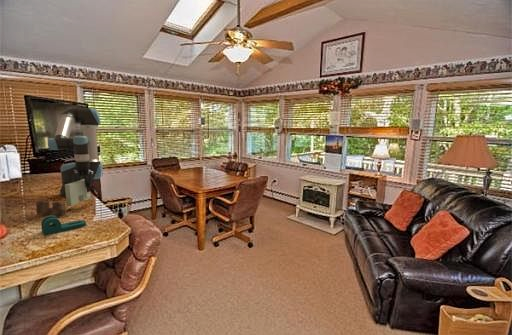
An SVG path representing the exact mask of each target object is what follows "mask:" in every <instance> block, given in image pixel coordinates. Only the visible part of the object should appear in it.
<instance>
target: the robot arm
mask: <svg viewBox="0 0 512 335" xmlns="http://www.w3.org/2000/svg"><path fill="white" fill-rule="evenodd" d="M58 122H59V123H58V125H57V127H56V132H55V134H54V137H50V138H47V139H48V140H47V147H48V149H49V150H52V151H53V150H54V151H65V150H66V151H68V150H71V151H72V150H73V152H74V153H73V155H74V160H75V161H74V162H69V163H65V164H62V165H61V166H60V175H61V187H60V190H59V195H60V196H61V197H66V192H65V184H69V183H72V182H76V181H79V180H83V179H84V180H85V184H86V187H85V195H86V197H89V196H90V193H91V187H92V186H94V180H98V179H101V178H102V176H103V168H104V165H103V164H104V163H101V160H100V159H99V155H98V135H97V129H98V128H99V125H100V124H101V117H100V113H99V110H98V109H97V108H91V107H70V108H68V109H65V110H64V111H62V112H61V113H60V115H59V116H58ZM74 124H80V127H81V128H82V133H83V135H75V136H73V137H70V135H71V132H72V129H73V125H74Z"/></svg>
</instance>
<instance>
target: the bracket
mask: <svg viewBox="0 0 512 335" xmlns="http://www.w3.org/2000/svg"><path fill="white" fill-rule="evenodd" d="M85 227H87V221H86V220H84V219H79V220H73V221H70V222H69V221H68V222H64V223H62V222H61V221H60V219H59V218H58V216H53V215H49V216H45V217H43V218H42V220H41V232H42V234H43V236H44V237H47V236H50V235H55V234H56V235H57V234H59V233H65V232H69V231H72V230H77V229H82V228H85Z"/></svg>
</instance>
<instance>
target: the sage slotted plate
mask: <svg viewBox="0 0 512 335" xmlns="http://www.w3.org/2000/svg"><path fill="white" fill-rule="evenodd" d="M85 187H86V184H85V180H84V179H83V180H79V181H76V182H72V183H69V184H65V192H66V196H65V201H66V202H65V204H66V206H68V207H73V206H75V205H78V204H79V203H80V202H85V201H87V200H90V199H92V196H91V195H92V194H91V192H90V196H89V197H86V195H85Z"/></svg>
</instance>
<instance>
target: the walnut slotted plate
mask: <svg viewBox="0 0 512 335" xmlns="http://www.w3.org/2000/svg"><path fill="white" fill-rule="evenodd" d="M35 206H36V207H35V208H36V215H37V216H45V217H46V216H49V215H53V216H56V217H60V218H61V217H62V218H63V217H65V216H66V215H67V214H66V202H65V201H53V202H51V207H50V202H49V200H37V201H35Z"/></svg>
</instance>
